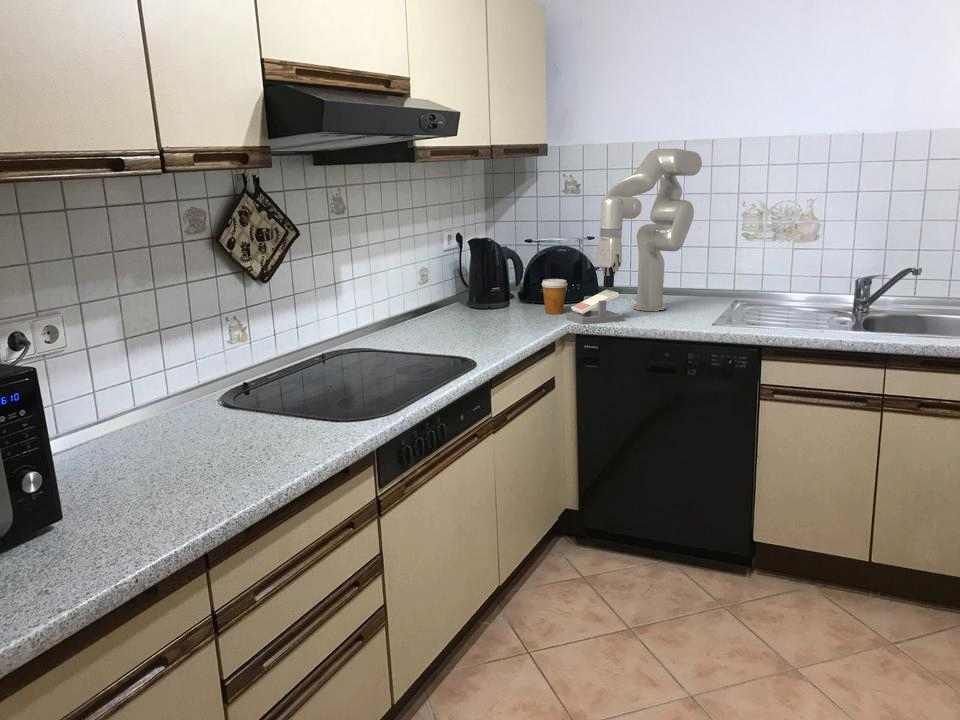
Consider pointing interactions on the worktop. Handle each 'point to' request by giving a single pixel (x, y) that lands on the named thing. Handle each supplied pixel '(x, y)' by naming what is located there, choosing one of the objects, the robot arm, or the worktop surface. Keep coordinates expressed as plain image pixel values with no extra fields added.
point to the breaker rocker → (594, 301)
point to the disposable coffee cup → (554, 295)
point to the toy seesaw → (595, 315)
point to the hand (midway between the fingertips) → (608, 286)
